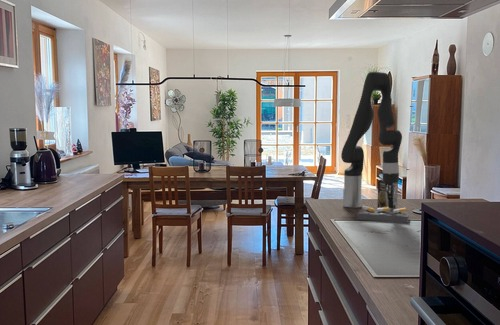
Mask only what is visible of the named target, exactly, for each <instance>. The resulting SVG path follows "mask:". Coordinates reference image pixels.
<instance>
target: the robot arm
mask: <svg viewBox="0 0 500 325" xmlns="http://www.w3.org/2000/svg"><path fill="white" fill-rule="evenodd" d="M374 91H375V92H376V91H377V92H378V91H379V92H380V93H381V100H380V103H379V105H378V107H377V117H378V123H379V133H378V141H379V143H380V144H381V145H382V146H391V147H390V148H389V149H384V151H383V152H382V180H383V182H387V183H388V185H387V186H386V190H387V196H388V198H387V199H388V205H389V208H393V207H394V204H393V200H394V195H395V185H394V182H398V183H399V181H400V176H399V175H400V167H399V152H400V148H401V145H402V142H403V134H402V132H401V131H400V130H398V129H391V130H390V128H392V127H394V126H395V117H394V112H393V106H392V92H391V91H392V88H391V78H390V75H389V74H388V73H386V72H383V71H373V70H372V71H368V73H367V74H366V77H365V79H364V84H363V88H362V92H361V96H360V100H359V103H358V106H357V110H356V112H355V115H354V118H353V120H352V121H353V122H352V125H351V128H350V131H349V132H348V136H347V138H346V140H345V141H344V142H345V143H344V145H343V147H342V150H341V155H340V156H341V157H340V158H341V160H342V161H343V163H344V164H350V166H348V167H347V168H346V169H344V174H343V175H344V180H343V181H344V182H343V191H342V193H343V194H342V195H343V196H342V207H345V208H353V209H354V208H356V209H357V208H362V180H363V179H362V174H363V170H364V159H365V152H364V149H363V147H362V146H360V145H357V144H358V143H359V141H360V140H361V138H362V137H363V136H364V135H365V134H366V133H367V132H368V131H369V130H370V128H371V126H372V123H373V120H374V117H375V116H374V115H375V114H374V113H375V112H374V109H373V108H374V107H373V106H372V105H373V104H372V94H373V92H374Z"/></svg>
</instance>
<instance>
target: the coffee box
mask: <svg viewBox="0 0 500 325" xmlns="http://www.w3.org/2000/svg"><path fill="white" fill-rule="evenodd" d="M387 185H388V183H387V182H383V179H378V180H377V209H378V208H384V207H389V205H388V199H387V198H388V196H387V190H386V186H387ZM394 185H395V195H394V200H393V204H394V207H393V208H390V210H387V211H385V212H393V210H394V209H398V197H399V196H398V193H399V192H398V190H399V182H394Z"/></svg>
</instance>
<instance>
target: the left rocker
mask: <svg viewBox="0 0 500 325" xmlns="http://www.w3.org/2000/svg"><path fill="white" fill-rule="evenodd" d="M361 209H362V210H366V211H372V212H373V211H375V208H374V207H371V206H368V205H365V204H363V205H361Z"/></svg>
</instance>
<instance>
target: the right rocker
mask: <svg viewBox="0 0 500 325" xmlns="http://www.w3.org/2000/svg"><path fill="white" fill-rule="evenodd" d="M406 210H407V207H401V208H397V209H394V210H393V212H394V213H397V212H398V213H403V212H406Z"/></svg>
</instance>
